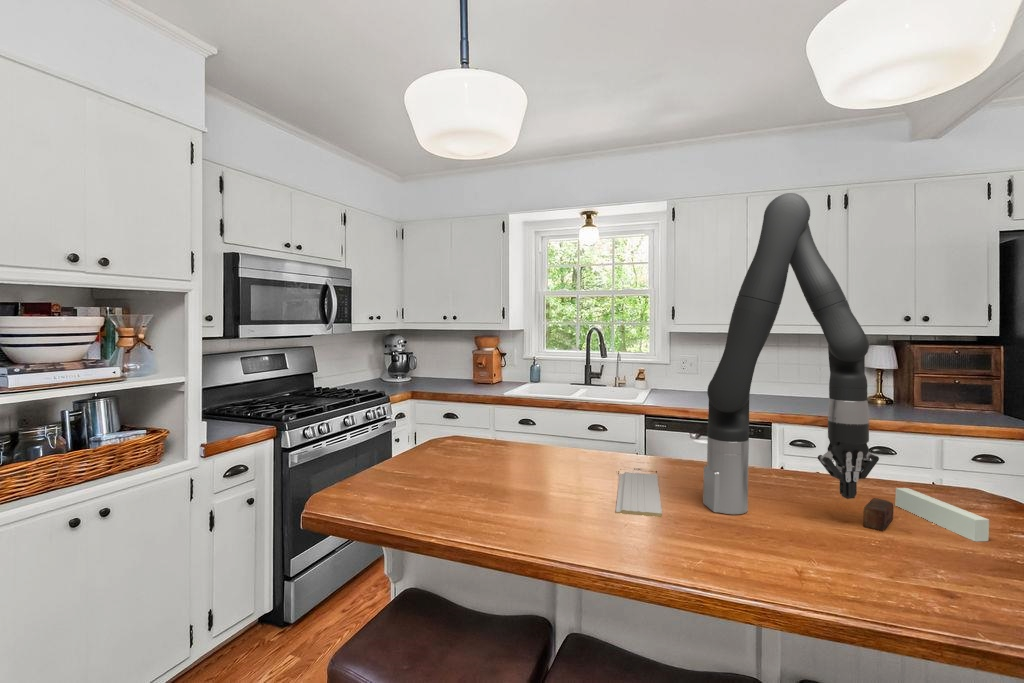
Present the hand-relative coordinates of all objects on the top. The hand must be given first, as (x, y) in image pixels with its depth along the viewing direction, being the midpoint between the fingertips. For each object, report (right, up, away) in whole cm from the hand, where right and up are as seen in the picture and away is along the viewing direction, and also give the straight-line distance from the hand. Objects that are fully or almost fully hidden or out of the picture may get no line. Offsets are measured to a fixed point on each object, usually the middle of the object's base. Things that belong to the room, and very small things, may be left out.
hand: (848, 497), depth 110 cm
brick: (+8, -7, +2) cm, 11 cm away
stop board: (+22, -6, +3) cm, 23 cm away
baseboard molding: (-42, -7, +22) cm, 48 cm away
